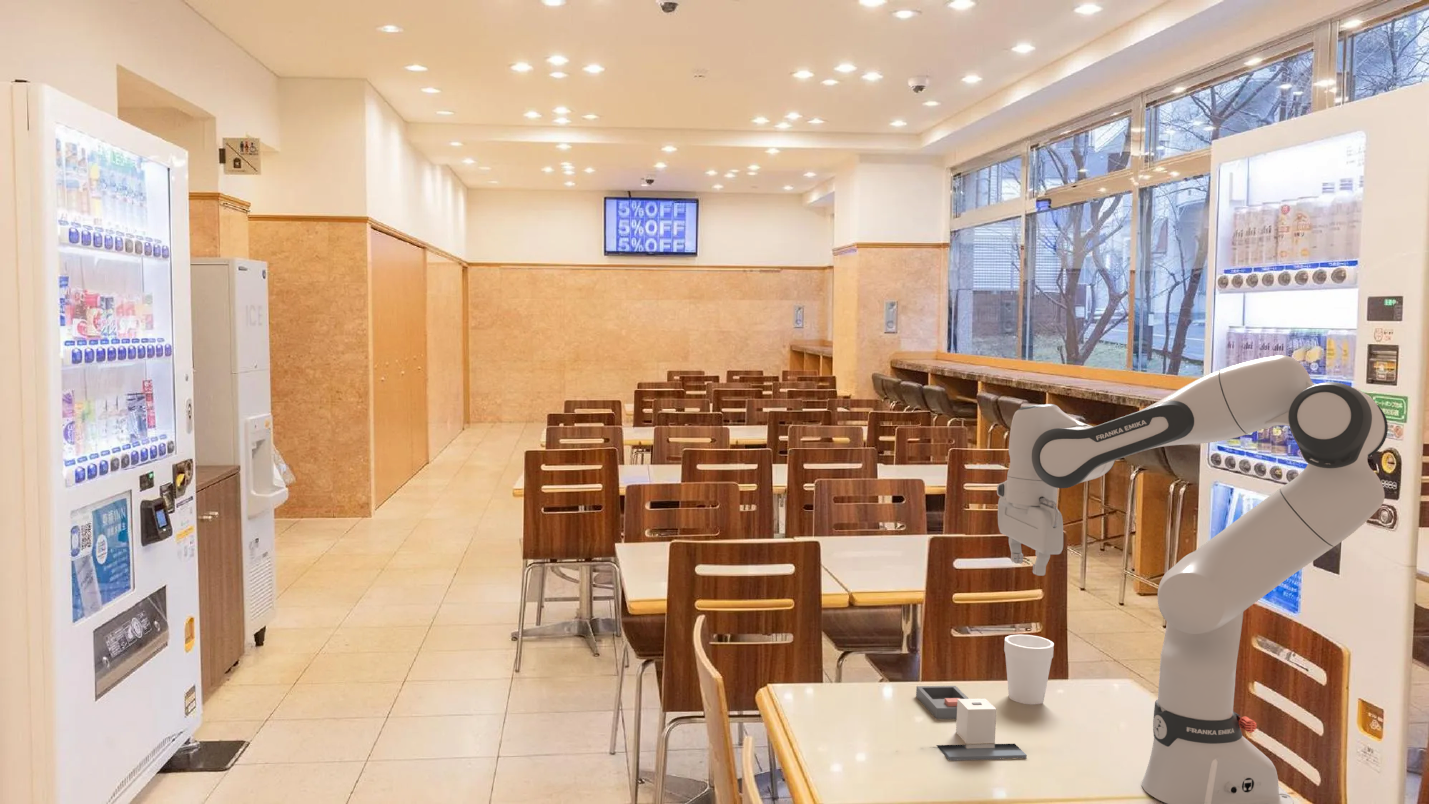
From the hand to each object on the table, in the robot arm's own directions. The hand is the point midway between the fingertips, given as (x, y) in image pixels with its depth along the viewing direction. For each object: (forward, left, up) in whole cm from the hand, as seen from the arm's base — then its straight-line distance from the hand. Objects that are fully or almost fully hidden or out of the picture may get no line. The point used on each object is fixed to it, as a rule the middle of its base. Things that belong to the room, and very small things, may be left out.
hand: (1027, 568), depth 189 cm
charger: (+10, +4, -30) cm, 32 cm away
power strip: (+10, -11, -31) cm, 34 cm away
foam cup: (-8, -15, -31) cm, 36 cm away
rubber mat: (+10, +4, -31) cm, 33 cm away
